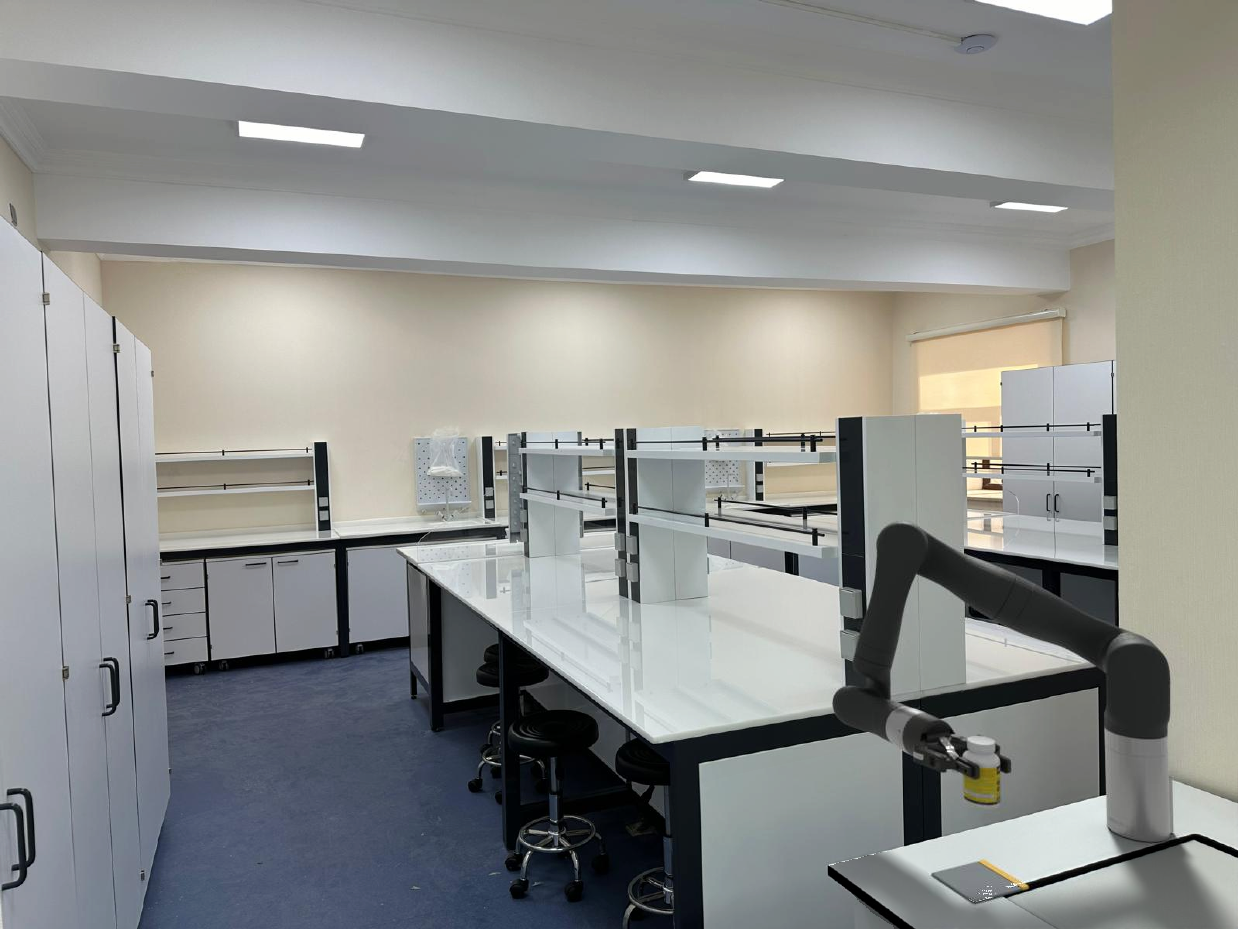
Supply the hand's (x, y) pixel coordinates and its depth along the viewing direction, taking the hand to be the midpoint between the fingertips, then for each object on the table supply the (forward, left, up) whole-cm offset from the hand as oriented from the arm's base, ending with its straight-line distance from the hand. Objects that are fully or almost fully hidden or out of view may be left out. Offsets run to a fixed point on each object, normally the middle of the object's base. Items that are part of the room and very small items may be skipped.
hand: (993, 770), depth 127 cm
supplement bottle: (0, -3, -6) cm, 7 cm away
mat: (+2, -2, -18) cm, 18 cm away
